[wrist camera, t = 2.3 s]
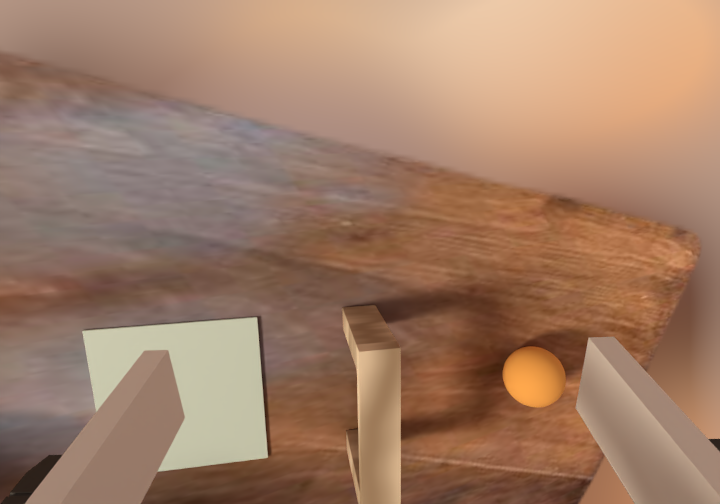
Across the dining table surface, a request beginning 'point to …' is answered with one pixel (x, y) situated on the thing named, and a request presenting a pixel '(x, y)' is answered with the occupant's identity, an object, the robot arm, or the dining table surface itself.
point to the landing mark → (195, 384)
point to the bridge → (375, 407)
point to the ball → (534, 376)
